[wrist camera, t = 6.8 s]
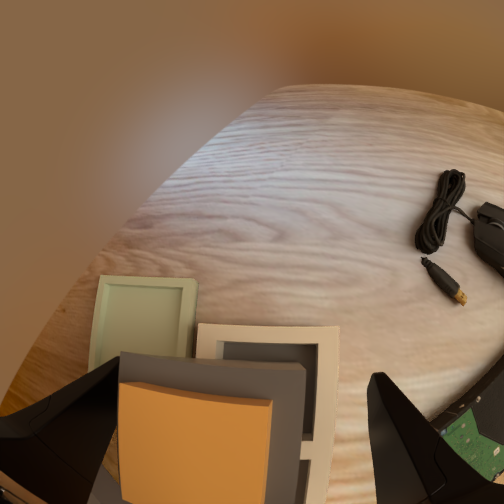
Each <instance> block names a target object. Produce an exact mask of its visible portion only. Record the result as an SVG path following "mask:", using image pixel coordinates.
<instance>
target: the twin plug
mask: <svg viewBox="0 0 504 504" xmlns="http://www.w3.org/2000/svg"><path fill="white" fill-rule="evenodd" d="M87 504H133V503H130V502H128V501H125V500H123V499H122V498H121V494H120V486H119V485H118V483H117V482H116V481H115V480H114V479H113V477H112V476H111V475H110V474H109V472H108V471H107V470H106V469H105V467H104V466H103V465H102V463H101V466H100V469H99V471H98V474H97V477H96V479H95V482H94V484H93V488H92V491H91V494H90V497H89V500H88V503H87Z"/></svg>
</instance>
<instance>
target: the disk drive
mask: <svg viewBox="0 0 504 504" xmlns="http://www.w3.org/2000/svg"><path fill="white" fill-rule="evenodd" d="M430 424H431V425H432V426H433V427H434V428H435V430H436V431H437V432H438V433H439V434H440V436H442V437H443V439H444V440H445V441H446V442H447V443H448V444H449V445H450V446H451V447H452V449H453V450H454V451H455V452H456V453H457V454H458V455H459V456H461V457H462V458H463V459H464V460H465V461H466V462H467V463H468V464H469V465H471V466H472V467H473V468H474V469H475V470H476V471H477V472H479V473H480V474H481V475H482V476H483V477H484V478H486V479H487V480H489V481H491V482H493V481H495V479H496V478H497V477H498V476H500V475H501V474H502V473H503V472H504V355H503V356H502V357H501V359H500V360H499V361H498V362H497V363H496V364H495V365H494V366H493V367H492V368H491V369H490V370H489V371H488V373H486V374H485V375H484V376H483V377H482V378H481V380H480V381H478V382H477V383H476V384H475V385H474V386H473V387H472V388H471V389H470V390H469V391H468V392H467V393H466V394H464V395H463V396H462V397H461V398H460V399H459V400H457V401H456V402H454V403H453V404H452V405H451V406H450V407H448V408H447V409H446V410H445V411H444V412H443V413H442V414H440V415H439V416H438V417H436V418H435V419H434V420H432V421H431V422H430Z"/></svg>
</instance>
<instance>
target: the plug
mask: <svg viewBox="0 0 504 504" xmlns="http://www.w3.org/2000/svg"><path fill="white" fill-rule="evenodd" d="M305 388H306V369H305V368H304V367H303V366H302V365H301V364H300V363H299V362H277V361H253V360H228V359H201V358H184V357H171V356H159V355H149V354H140V353H132V352H124V351H121V352H120V364H119V378H118V398H117V451H118V470H119V483H120V494H121V498H122V499H123V500H125V501H128V502H130V503H133V504H294V503H295V495H296V488H297V480H298V471H299V462H300V453H301V442H302V431H303V419H304V405H305Z"/></svg>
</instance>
